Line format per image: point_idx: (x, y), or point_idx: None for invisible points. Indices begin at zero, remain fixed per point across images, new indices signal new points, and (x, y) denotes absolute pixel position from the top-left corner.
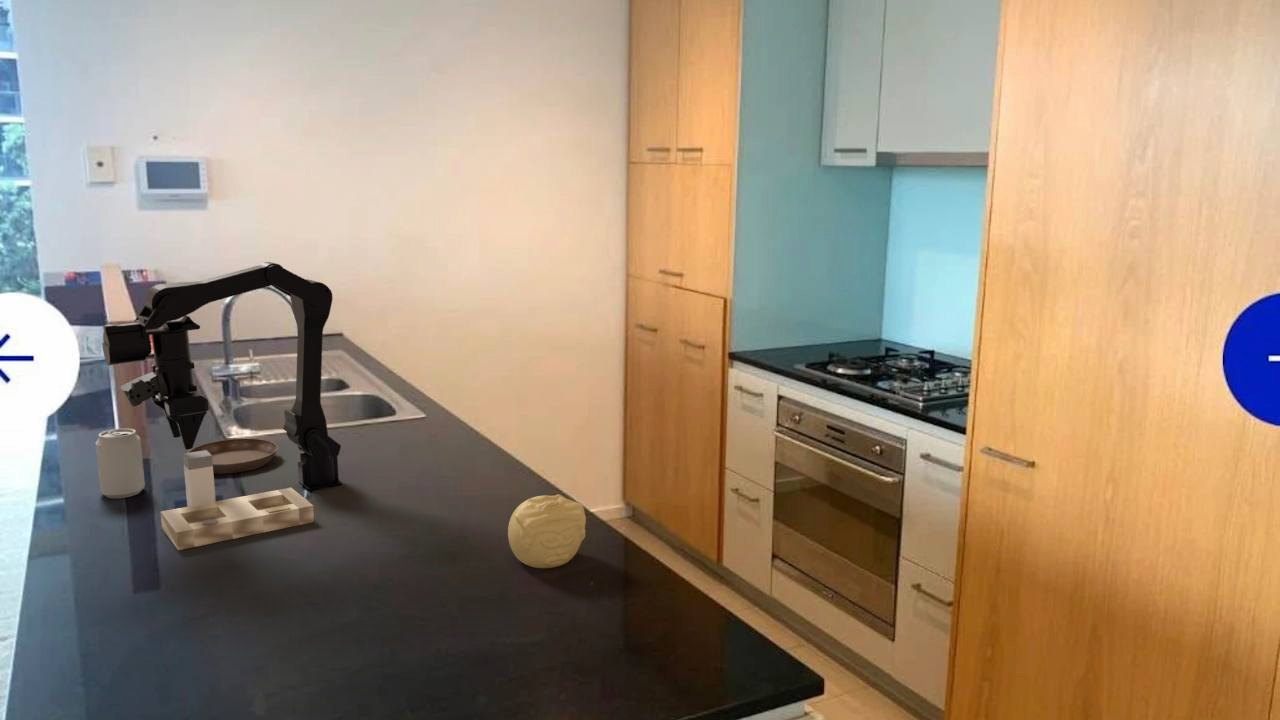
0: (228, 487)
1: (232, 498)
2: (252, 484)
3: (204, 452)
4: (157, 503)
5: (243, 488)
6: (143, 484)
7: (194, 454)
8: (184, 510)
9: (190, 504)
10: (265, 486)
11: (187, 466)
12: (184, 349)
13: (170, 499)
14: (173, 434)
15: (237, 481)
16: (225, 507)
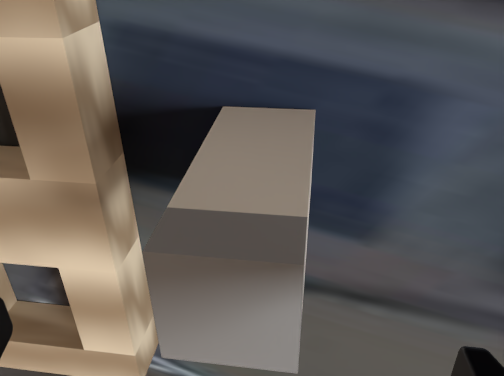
0: (447, 282)
1: (107, 243)
2: (416, 337)
3: (250, 353)
4: (464, 11)
5: (394, 308)
6: None
7: (236, 307)
8: (22, 62)
9: (243, 118)
10: (364, 352)
11: (192, 217)
12: None
13: (477, 77)
14: (471, 371)
15: (493, 321)
16: (10, 196)
